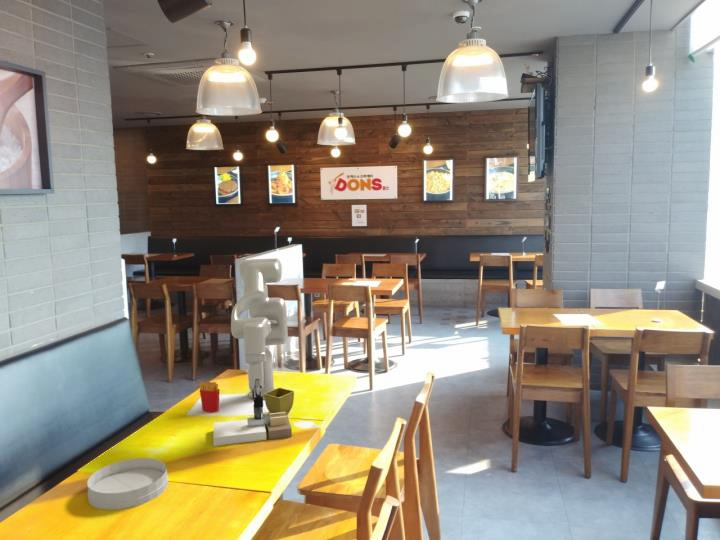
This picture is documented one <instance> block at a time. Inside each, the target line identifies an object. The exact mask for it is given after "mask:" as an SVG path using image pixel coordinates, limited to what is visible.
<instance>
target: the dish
mask: <svg viewBox="0 0 720 540" xmlns="http://www.w3.org/2000/svg"><path fill="white" fill-rule="evenodd" d="M86 483H87V484H86V485H87V492H86V493H87V499H88V501H87V502H88V503H89V504H90V505H91V506H92V507H93V508H97V509H102V510H108V511H110V510H111V511H112V510H114V511H115V510H124V509H129V508H130V509H131V508H134V507H137V506H140V505H143V504H146V503H148V502H150V501H152V500H154V499H155V498H157V497H159V496H160V495H162V494H163V493H164V492H165V491H166V489H167V488H168V485H169V476H168V471H167V466H166V463H164V462H163V461H161V460H159V459H156V458H150V457H149V458H148V457H142V458H141V457H139V458H129V459H125V460H120V461H116V462H113V463H110V464H107V465H106V466H104V467H101V468H99V469H98V470H97V471H95V472H94V473H93V474H91V476H89V478H88V480H87V482H86Z"/></svg>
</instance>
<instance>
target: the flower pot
mask: <svg viewBox="0 0 720 540" xmlns="http://www.w3.org/2000/svg"><path fill="white" fill-rule="evenodd" d="M294 397H295V391H294V390H291V389H286V388H283V387H277V388H274V390H272V391H269V392H267V393H264V398H265V399H264V403H265V407H266V409H267V410H268V412H269V414H270V413H278V412H286V415H288V414H289V413H290V412H291V411H292V408H293V405H294V399H295V398H294Z"/></svg>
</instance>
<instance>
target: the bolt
mask: <svg viewBox="0 0 720 540" xmlns="http://www.w3.org/2000/svg"><path fill="white" fill-rule="evenodd" d="M263 407H264V406H263ZM263 407H259V408H254V404H253V417H247V418H246V419H247V422H248V427H253V426H261V425H265V426H267V425H269V424H270V418H271V417H280V416H281V415H271V416H269V415H265V416H264V411H263Z"/></svg>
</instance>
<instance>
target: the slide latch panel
mask: <svg viewBox="0 0 720 540" xmlns="http://www.w3.org/2000/svg"><path fill="white" fill-rule="evenodd" d="M271 415H281V416H280V417H271V418H270V424H269V425H261V426H253V427H248V422H247V418H243V419H235V420H228V421H218V422H214V423H213V437H212V438H213V439H212V440H213V447H219V446H226V444H227V445H233V444H234V443H235V444H241V443H250V442H258V441H259V442H260V441H267V434H268V438H269V439H268V440H274V439H280V438H281V439H284V438H289V437H293V434H292V426H291V425H292V424H291V422H290V420H289V416H288V414H286V412H278V413H270V412H269V413H268V416H271ZM266 429H267V430H266Z"/></svg>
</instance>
